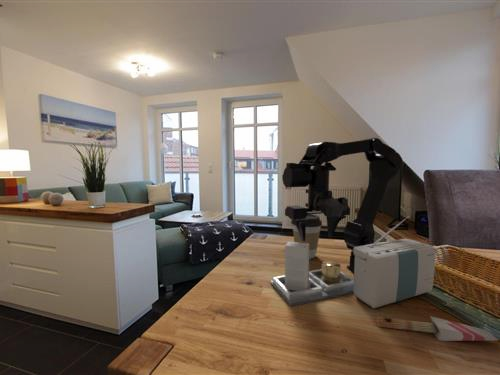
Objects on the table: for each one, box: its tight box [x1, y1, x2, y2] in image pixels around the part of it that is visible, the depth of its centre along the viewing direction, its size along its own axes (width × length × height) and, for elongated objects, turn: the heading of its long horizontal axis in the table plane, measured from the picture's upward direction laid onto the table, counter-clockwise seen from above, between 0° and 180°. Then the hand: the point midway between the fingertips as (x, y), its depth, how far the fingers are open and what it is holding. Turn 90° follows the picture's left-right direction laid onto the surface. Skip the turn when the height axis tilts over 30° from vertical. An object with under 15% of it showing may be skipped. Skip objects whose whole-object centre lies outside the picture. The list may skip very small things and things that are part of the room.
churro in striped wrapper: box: [376, 315, 499, 342], centre depth 48 cm, size 4×3×20 cm
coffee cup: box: [290, 214, 323, 260], centre depth 89 cm, size 11×11×15 cm
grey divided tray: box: [269, 260, 354, 307], centre depth 66 cm, size 21×12×6 cm, turn 109°
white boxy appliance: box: [352, 215, 436, 309], centre depth 61 cm, size 21×8×20 cm, turn 112°
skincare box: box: [284, 241, 310, 291], centre depth 64 cm, size 6×4×12 cm
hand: (317, 239), depth 70 cm, fingers open, 9 cm apart
